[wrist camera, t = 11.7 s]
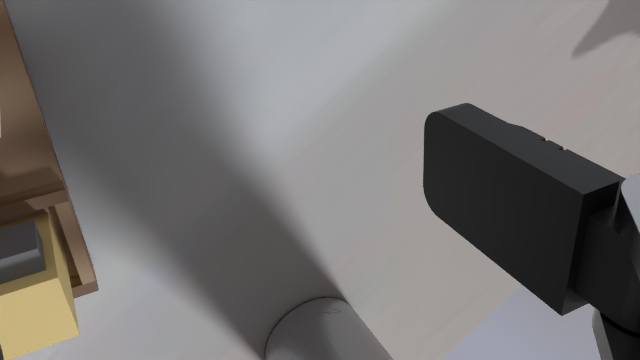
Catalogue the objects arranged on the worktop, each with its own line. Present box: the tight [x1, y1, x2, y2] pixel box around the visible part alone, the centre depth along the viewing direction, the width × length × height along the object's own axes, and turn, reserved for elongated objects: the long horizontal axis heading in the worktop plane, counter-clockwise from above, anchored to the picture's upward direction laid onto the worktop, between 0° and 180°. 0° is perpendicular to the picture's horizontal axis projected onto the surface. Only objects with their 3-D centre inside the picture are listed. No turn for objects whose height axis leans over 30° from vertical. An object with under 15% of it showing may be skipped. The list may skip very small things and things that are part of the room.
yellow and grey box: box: [0, 213, 80, 360], centre depth 33 cm, size 5×4×7 cm
